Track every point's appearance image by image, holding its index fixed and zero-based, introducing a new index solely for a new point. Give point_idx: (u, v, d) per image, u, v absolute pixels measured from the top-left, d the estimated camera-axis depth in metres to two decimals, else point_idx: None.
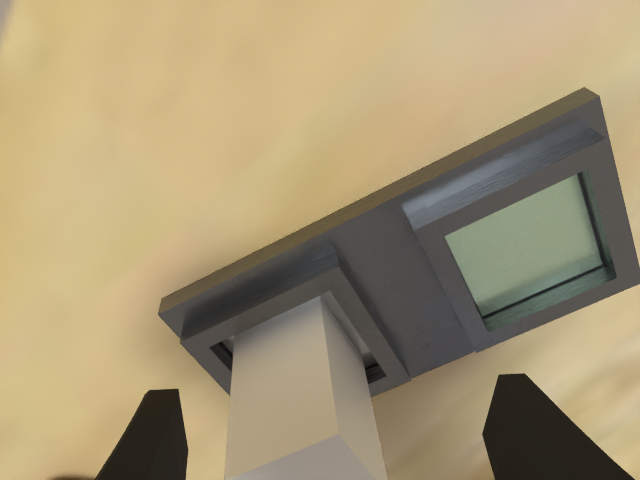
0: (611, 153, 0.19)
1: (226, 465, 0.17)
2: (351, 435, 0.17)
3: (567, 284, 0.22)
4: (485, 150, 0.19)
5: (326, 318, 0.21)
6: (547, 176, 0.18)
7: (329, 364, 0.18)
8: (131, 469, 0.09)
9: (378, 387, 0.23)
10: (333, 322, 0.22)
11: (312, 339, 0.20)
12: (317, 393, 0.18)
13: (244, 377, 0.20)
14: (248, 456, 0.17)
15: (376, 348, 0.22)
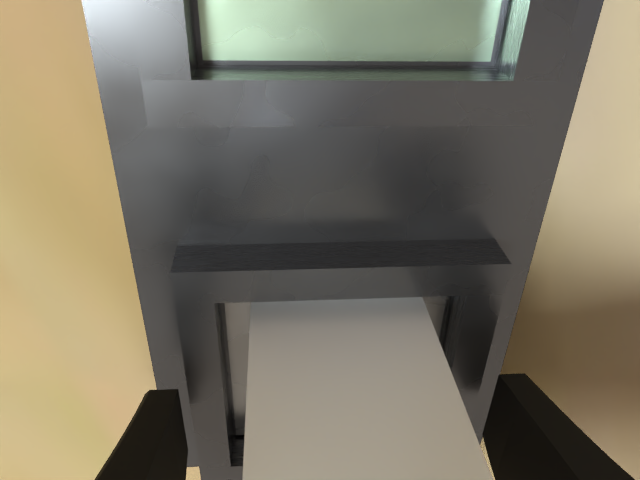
0: None
1: None
2: None
3: None
4: None
5: (268, 330, 0.12)
6: None
7: (245, 440, 0.09)
8: (131, 469, 0.09)
9: (482, 315, 0.12)
10: (299, 315, 0.12)
11: None
12: None
13: None
14: None
15: (390, 287, 0.11)
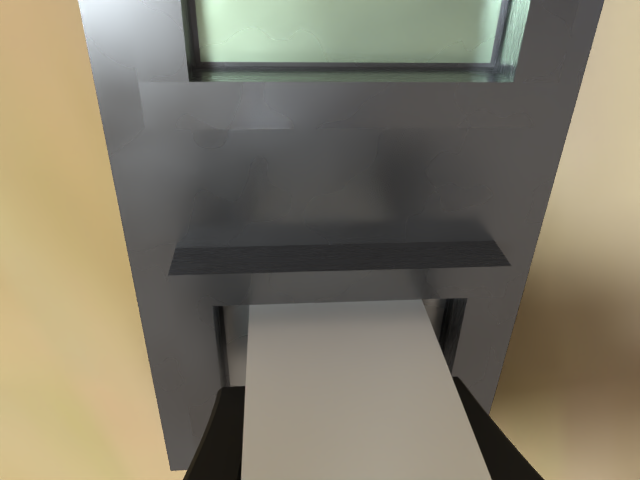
0: None
1: None
2: None
3: None
4: None
5: (266, 332, 0.11)
6: None
7: (244, 444, 0.09)
8: (220, 464, 0.09)
9: (482, 318, 0.12)
10: (298, 317, 0.12)
11: None
12: None
13: None
14: None
15: (389, 289, 0.11)
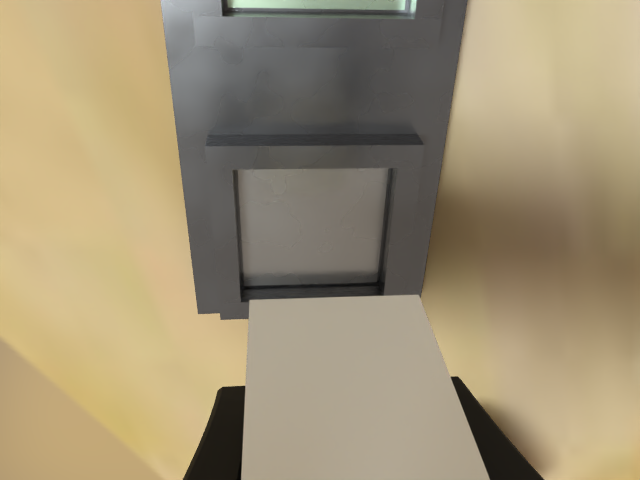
0: None
1: None
2: None
3: None
4: None
5: (266, 327, 0.12)
6: None
7: (244, 435, 0.09)
8: (220, 464, 0.09)
9: (408, 183, 0.18)
10: (297, 313, 0.12)
11: None
12: None
13: None
14: None
15: (346, 160, 0.17)
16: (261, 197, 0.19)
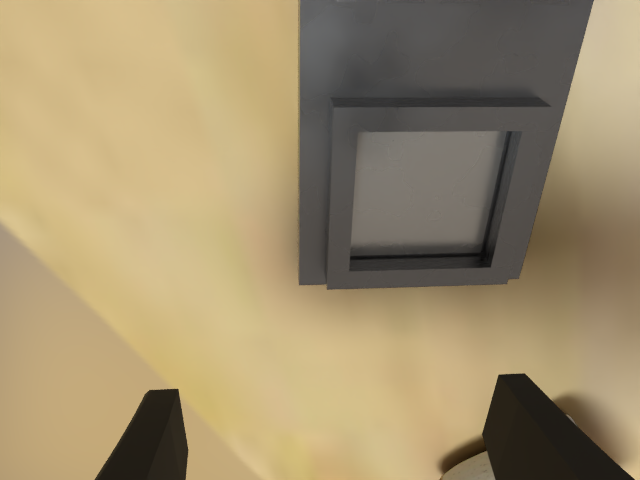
0: None
1: None
2: None
3: None
4: None
5: None
6: None
7: None
8: (131, 469, 0.09)
9: (531, 147, 0.18)
10: None
11: None
12: None
13: None
14: None
15: (472, 122, 0.17)
16: (376, 163, 0.19)
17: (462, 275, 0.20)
